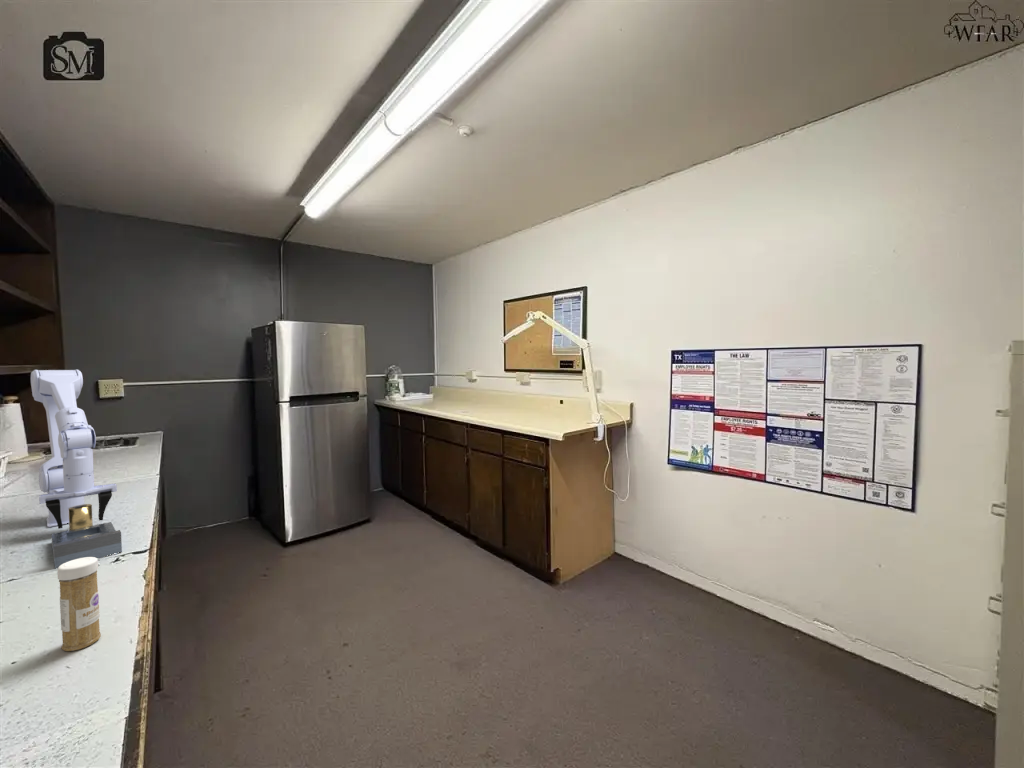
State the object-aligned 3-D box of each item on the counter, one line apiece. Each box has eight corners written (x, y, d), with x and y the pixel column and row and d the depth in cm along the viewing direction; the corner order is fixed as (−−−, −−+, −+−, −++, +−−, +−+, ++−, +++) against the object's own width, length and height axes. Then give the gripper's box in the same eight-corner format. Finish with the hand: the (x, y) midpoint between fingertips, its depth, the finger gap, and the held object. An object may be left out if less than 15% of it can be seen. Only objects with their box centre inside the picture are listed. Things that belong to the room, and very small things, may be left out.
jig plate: (51, 543, 107) (51, 524, 107) (111, 531, 115) (110, 512, 115) (54, 569, 94) (53, 546, 94) (121, 552, 102) (121, 532, 102)
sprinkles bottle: (97, 645, 68) (93, 563, 68) (56, 656, 66) (52, 571, 65) (104, 630, 72) (100, 553, 71) (66, 640, 69) (62, 560, 69)
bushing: (69, 532, 114) (67, 506, 114) (92, 527, 118) (91, 502, 117) (70, 536, 111) (68, 510, 111) (93, 532, 115) (92, 506, 114)
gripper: (38, 481, 106) (41, 535, 106) (117, 470, 116) (119, 519, 117) (38, 476, 110) (40, 528, 111) (114, 466, 121) (116, 513, 122)
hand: (81, 523), depth 114 cm, fingers open, 7 cm apart
